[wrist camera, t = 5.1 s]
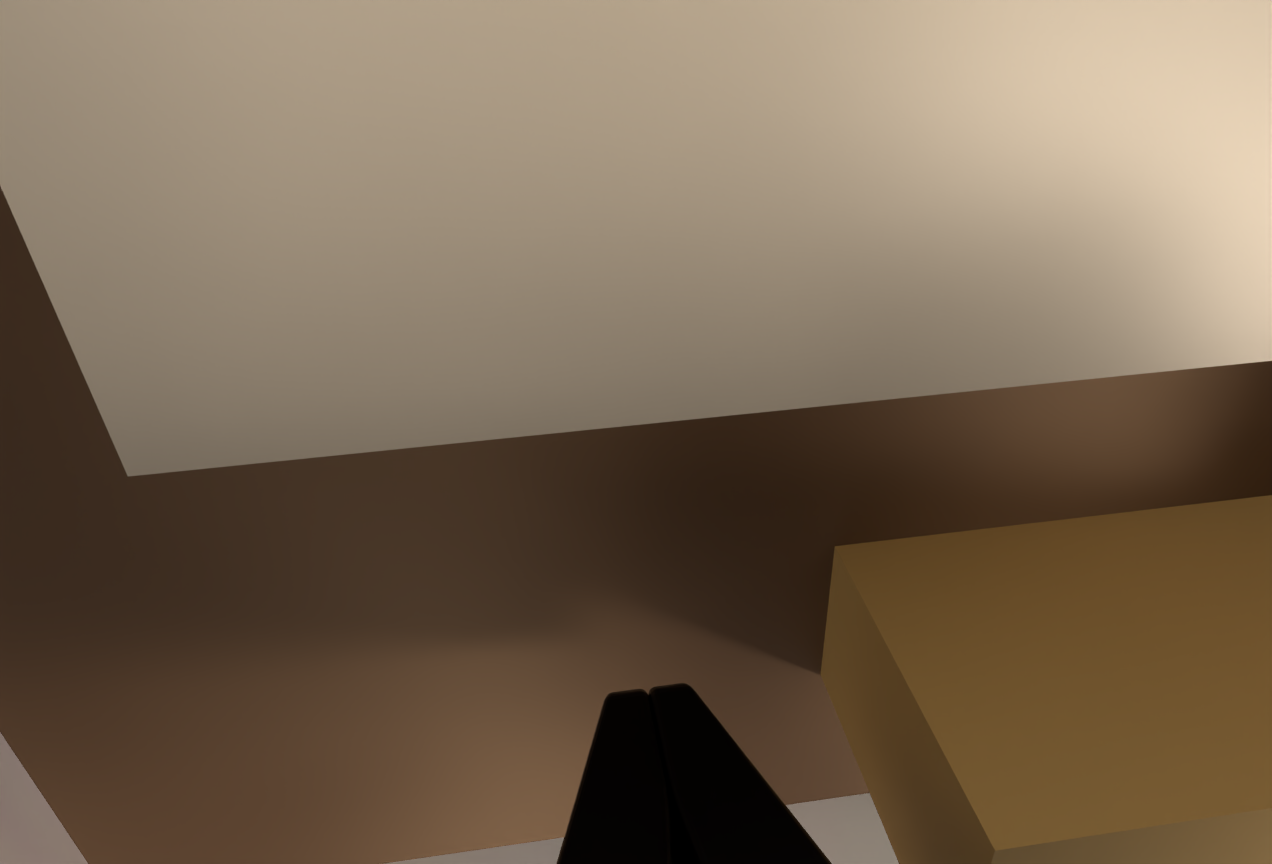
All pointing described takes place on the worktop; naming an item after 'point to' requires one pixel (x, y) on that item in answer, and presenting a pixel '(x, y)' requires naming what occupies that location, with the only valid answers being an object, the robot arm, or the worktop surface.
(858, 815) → the worktop surface
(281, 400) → the cover
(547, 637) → the base box
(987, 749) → the tan rectangular block
